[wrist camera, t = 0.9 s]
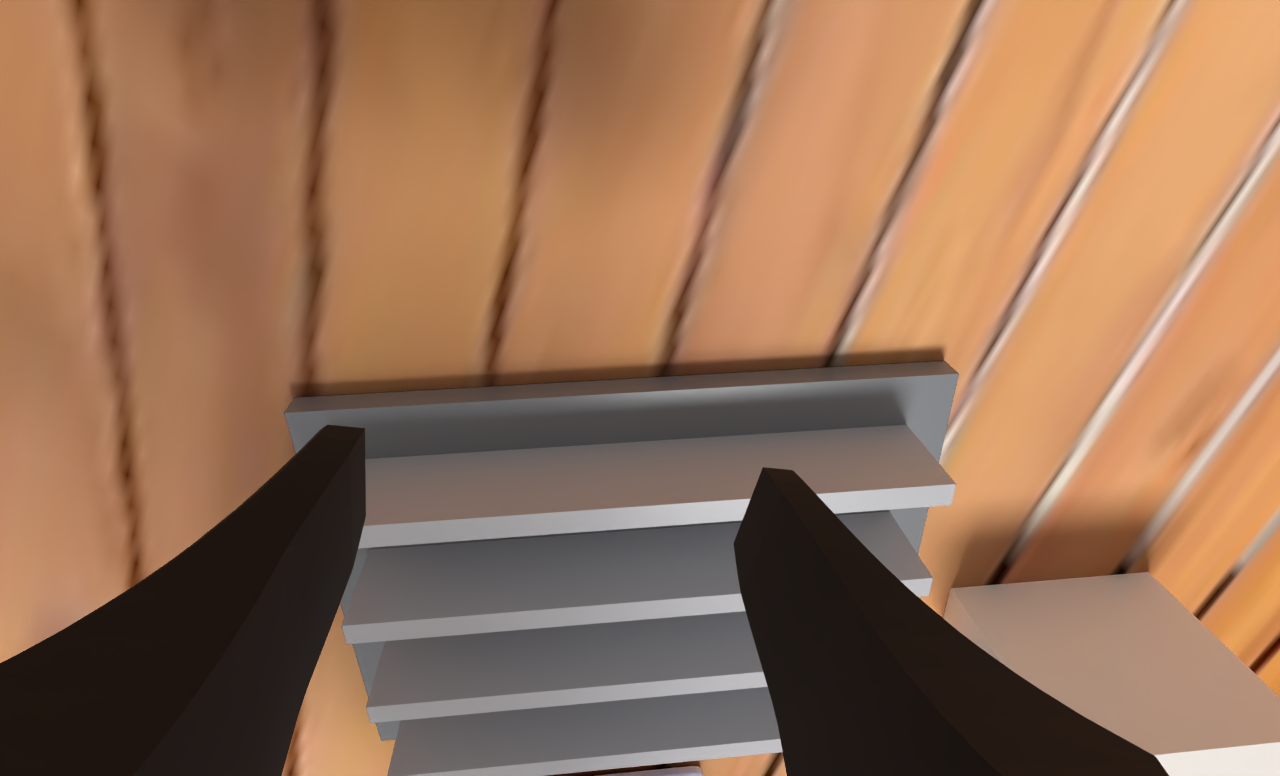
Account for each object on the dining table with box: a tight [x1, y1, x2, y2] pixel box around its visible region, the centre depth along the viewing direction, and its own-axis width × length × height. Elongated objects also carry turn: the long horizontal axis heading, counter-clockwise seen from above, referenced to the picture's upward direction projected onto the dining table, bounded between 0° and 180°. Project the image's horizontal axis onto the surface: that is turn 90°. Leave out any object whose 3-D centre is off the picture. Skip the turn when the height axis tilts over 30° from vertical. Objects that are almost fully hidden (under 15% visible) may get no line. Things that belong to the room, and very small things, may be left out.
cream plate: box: [943, 572, 1280, 776], centre depth 27 cm, size 2×9×8 cm, turn 91°
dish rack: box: [284, 361, 959, 776], centre depth 25 cm, size 16×22×4 cm
